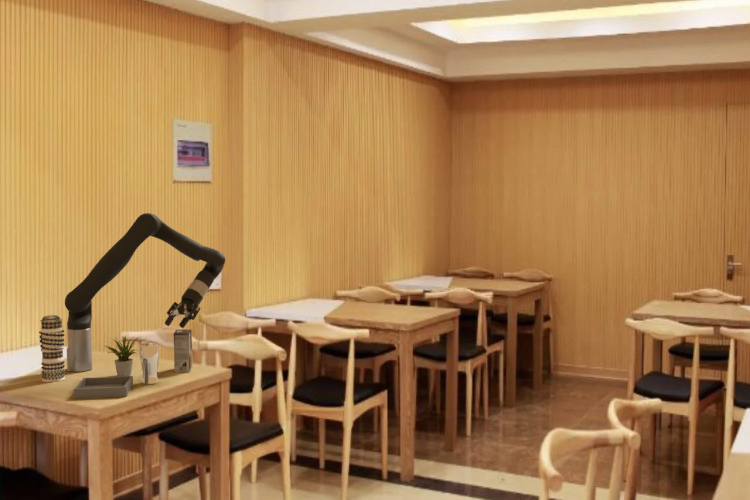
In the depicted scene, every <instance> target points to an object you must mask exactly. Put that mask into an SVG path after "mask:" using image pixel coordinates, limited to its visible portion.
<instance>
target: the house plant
mask: <svg viewBox="0 0 750 500" xmlns="http://www.w3.org/2000/svg"><path fill="white" fill-rule="evenodd" d="M133 338H135V337H132V339H133ZM140 338H141V336H139V337H137V338H135V339H133V340H132V341H131V338H130V339H128V340H127V335H125V336H122V342H121V340H119V339H118V338H117V337H115V339H113V338H111V341H113V342H114V343H115V344H116V346H115V344H113V343H112V342H111V344H113V345H114V346H115V347H116V348H117V349H116V348H114V347H112V346H108V345H104V347H106V348H107V349H108V350H110V351H109V352H107V354H110V353H113V354H114V355H115V356H116V357H117V358H118V359H117V358H116V359H114V365H115V369H116V370H115V371H116V374H117V376H116V377H120V376H132V369H133V363H134V359H133V358H130V357H131V355H133V354H134V355H135V354H137V352H135V351H136V349H132V347H134V345H135V344H136V343H137V341H138V339H140ZM130 341H131V342H130ZM107 342H109V343H110V341H108V340H107ZM126 342H127V343H126ZM130 343H131V344H130Z"/></svg>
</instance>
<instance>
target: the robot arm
mask: <svg viewBox="0 0 750 500" xmlns="http://www.w3.org/2000/svg"><path fill="white" fill-rule="evenodd" d="M149 237H153V238H155V239H157V240H158V239H159V240H161V241H163V242H165V243H166V244H168V245H170V246H171V247H173V248H174V249H175V250H177V251H178V252H180V253H181V254H183V255H184V256H186V257H188V258H190V259H191V260H194V261H196V262H199V261H203V262H205V265H204V267H203V268H202V269H201V270H200V271H199V272H198V273H197V275H196V276H195V277H194V279H193V280H192V282H190V284H189V285H188V287H187V288H186V290H185V291H184V293H183V294H182V296H181V300H180V302H179V303H177V301H174V302H173V303H172V305H171V306H170V308H169V309H168V310H167V311H166V314H167V315H168V317H167V318H166V319H165V322H164V324H165V325H166V326H167V327H169V326H170V325H171V324H172V322H173V321H174V320H175V318H176V317H180V316H184V317H183V318H182V319H181V321H180V322H179V324H178V326H179V327H180V328H181V329H185V327H186V326H187V324H188V322H190V321H191V320H192V321H194V320H195V318H196V317H197V315H198V314H199V313H200V310H201V307H200V304H201V302H202V301H203V299H204V298H205V297H206V295H207V292H208V291H209V289H210V288H211V286H212V284H213V283H214V281H215V280H216V279H217V278H218V277H219V275H220V274H221V272H222V271H223V269H224V266H225V263H226V256H225V255H224V254H223V253H222V252H221V251H219V250H217V249H215V248H212V247H208V246H204V245H203V244H201V243H199V242H198V241H196V240H194V239H192V238H190V237H188V236H186V235H184V234H182V233H180V231H179V232H178V231H177V230H175V229H174V228H172V227H170V226H169V225H168V224H166V223H165V222H164V221H163V220H162V219H160V218H159V217H158V216H157V215H156V214H154V213H150V212H149V213H148V212H145V213H142V214H141V215H139V216H138V217H137V218H136V219H135V221H134V222H133V223H132V225H131V226H130V227H129V228H128V230H127V232H125V234H124V235H123V236H122V237H121V238H120V239H119V240H117V241H116V243H114V244H113V245H112V246H111V247H110V249H109V250H107V252H105V254H104V255H102V256H101V257H100V259H99V260H98V262H96V264H95V265H94V266H93V268H92V269H91V270H90V272H89V273H88V275H87V276H86V277H84V278H83V279H84V280H82V282H80V283H79V284H78V285H77V286H76V287H74V289H73V290H71V291H70V292H68V293H67V294H66V296H65V299H64V307H65V308H66V310H68V318H67V323H66V330H67V348H66V366H67V370H66V371H67V372H76V373H77V372H79V373H80V372H89V371H91V370H92V369H93V351H92V350H93V349H92V347H93V346H92V319H93V314H92V313H93V309H92V307H93V303H92V300H93V299H94V297H95V296H96V295H97V294H98V293H99V291H100V290H101V289H103V288H104V287H105V286H106V285H108V283H110V282H111V281H112V280H114V279H115V278H116V277H117V276H118V275H119V274H120V272H121V271H122V270H123V269H125V267H126V266H127V265H128V263H129V262H130V261H131V259H132V258H133V256H134V254H135V252H136V251H137V249H138V248H139V247H140V246H141V245H142V244H143V243H144V242H145V241H146V240H147V239H148V238H149Z"/></svg>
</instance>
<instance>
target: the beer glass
mask: <svg viewBox="0 0 750 500" xmlns="http://www.w3.org/2000/svg"><path fill="white" fill-rule="evenodd" d="M139 346H140V348H139V349H140V350H139V351H140V352H139V357H140V364H141V369H142V380H141V384H142V385H155V384H158V383H159V377H158V368H159V360H160V350H159V343H158V342H144V343H141V344H140V345H139Z"/></svg>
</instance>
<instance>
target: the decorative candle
mask: <svg viewBox="0 0 750 500" xmlns="http://www.w3.org/2000/svg"><path fill="white" fill-rule="evenodd" d="M62 322H63V319H62V318H61V317H60V316H59V315H55V314H53V315H51V314H50V315H44V316H43V317H42V319H41V320H40V324H41V327H40V331H39V332H38V334H39V343H40V344H39V345H40V352H42V353H41V354H42V356H41V369H42V371H41V372H40V373H41V381H42V382H44V383H55V382H56V383H57V382H60V381H61V382H62V381H64V380H65V379H66V377H65V376H66V374H65V372H66V370H65V369H64V368H65V361H64V355H63V354H64V353H63V351H64V350H65V348H64V347H63V346H64V345H65V343H64V342H65V339H64V338H63V337H64V336H65V330H64V329H63V323H62Z"/></svg>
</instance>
